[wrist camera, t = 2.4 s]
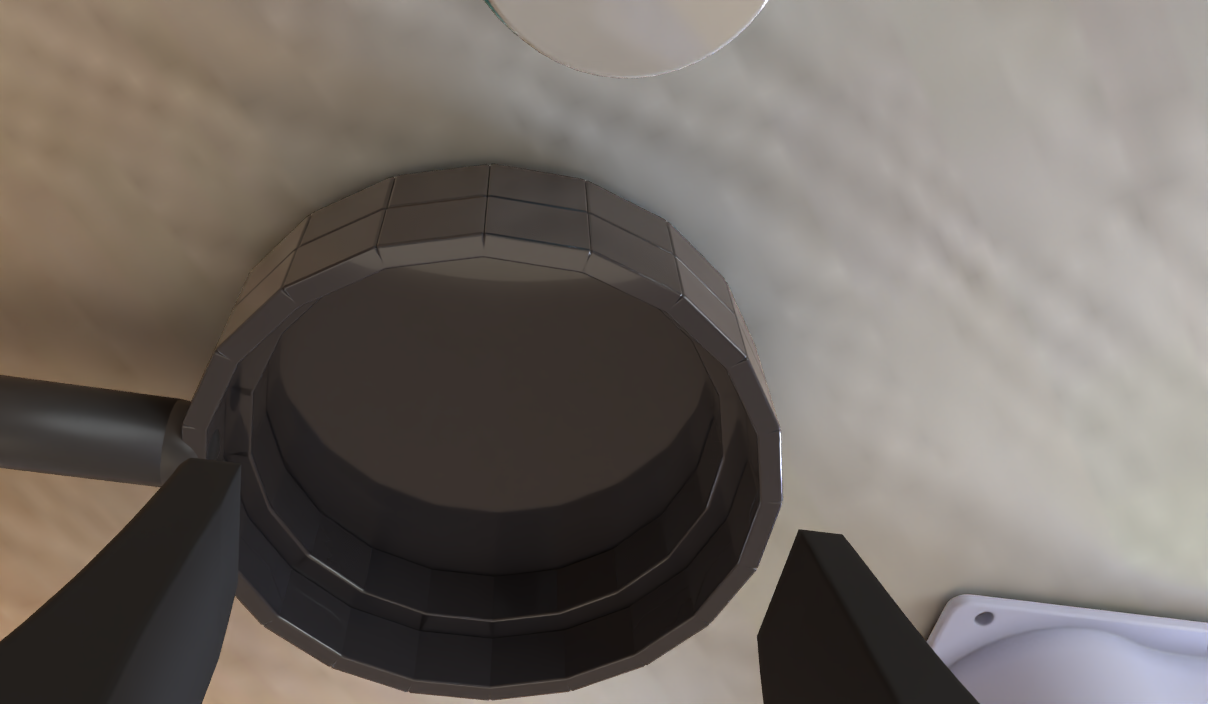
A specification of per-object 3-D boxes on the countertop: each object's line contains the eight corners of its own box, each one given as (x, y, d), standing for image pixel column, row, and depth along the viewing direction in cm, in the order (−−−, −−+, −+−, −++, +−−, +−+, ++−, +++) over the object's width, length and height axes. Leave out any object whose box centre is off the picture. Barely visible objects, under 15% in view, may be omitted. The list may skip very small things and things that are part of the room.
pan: (822, 208, 23) (863, 294, 20) (683, 612, 30) (699, 721, 27) (230, 106, 22) (180, 183, 19) (218, 559, 28) (180, 671, 25)
